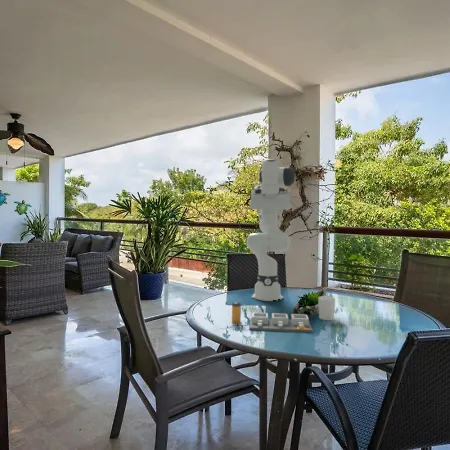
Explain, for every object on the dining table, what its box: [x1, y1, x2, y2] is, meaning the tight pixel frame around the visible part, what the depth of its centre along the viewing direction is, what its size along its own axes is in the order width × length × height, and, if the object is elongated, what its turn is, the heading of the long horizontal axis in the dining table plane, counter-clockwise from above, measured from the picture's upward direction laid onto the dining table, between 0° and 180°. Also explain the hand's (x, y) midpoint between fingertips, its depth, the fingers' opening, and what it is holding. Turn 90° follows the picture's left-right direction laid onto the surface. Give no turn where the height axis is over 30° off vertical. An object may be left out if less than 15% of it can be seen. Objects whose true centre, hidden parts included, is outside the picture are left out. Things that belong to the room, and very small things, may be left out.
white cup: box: [317, 295, 336, 321], centre depth 174 cm, size 8×8×10 cm
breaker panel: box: [248, 311, 314, 333], centre depth 161 cm, size 14×27×4 cm, turn 84°
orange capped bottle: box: [231, 301, 242, 325], centre depth 166 cm, size 4×4×9 cm
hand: (269, 218), depth 180 cm, fingers open, 8 cm apart
